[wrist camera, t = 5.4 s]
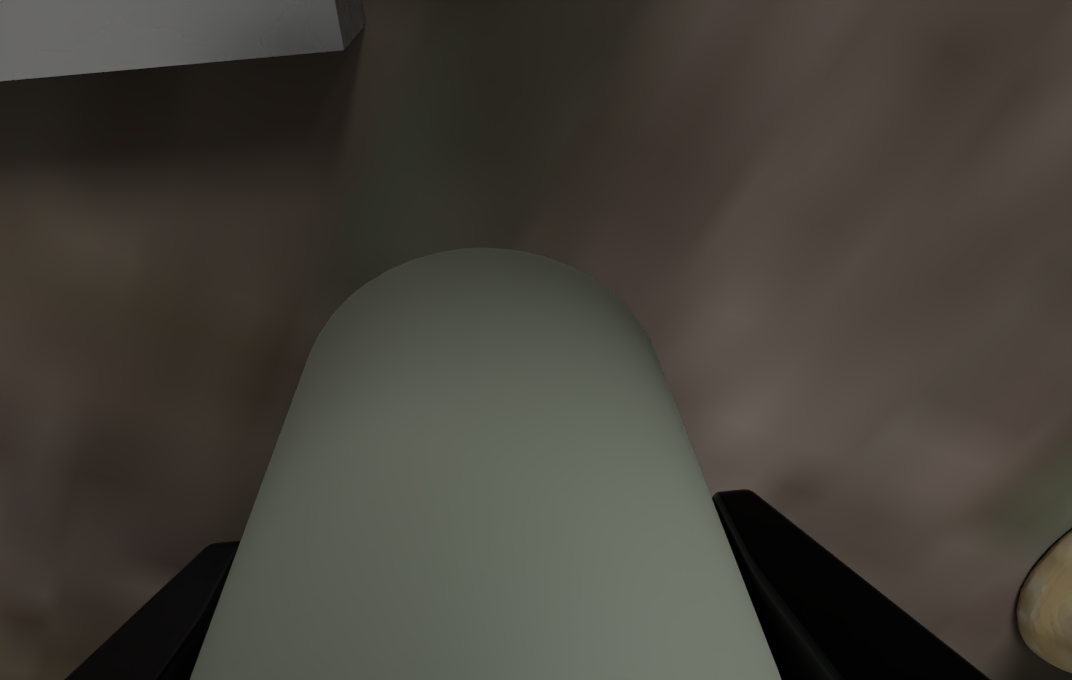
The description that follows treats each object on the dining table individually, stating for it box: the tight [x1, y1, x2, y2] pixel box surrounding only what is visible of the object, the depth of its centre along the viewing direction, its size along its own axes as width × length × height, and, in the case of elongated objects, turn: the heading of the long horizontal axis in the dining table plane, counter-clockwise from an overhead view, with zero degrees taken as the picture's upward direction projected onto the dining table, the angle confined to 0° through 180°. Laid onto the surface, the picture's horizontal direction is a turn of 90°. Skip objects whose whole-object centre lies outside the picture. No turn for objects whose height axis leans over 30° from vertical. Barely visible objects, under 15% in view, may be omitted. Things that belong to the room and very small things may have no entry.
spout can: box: [190, 248, 782, 680], centre depth 8 cm, size 5×7×7 cm
